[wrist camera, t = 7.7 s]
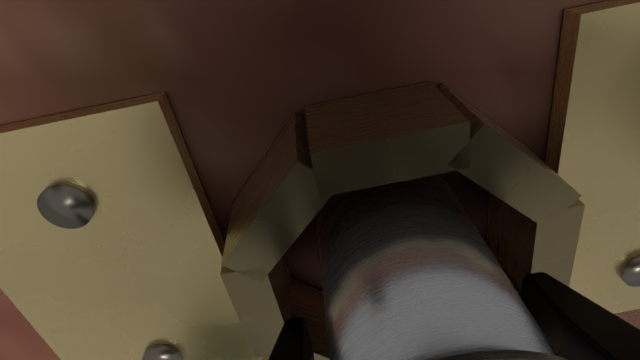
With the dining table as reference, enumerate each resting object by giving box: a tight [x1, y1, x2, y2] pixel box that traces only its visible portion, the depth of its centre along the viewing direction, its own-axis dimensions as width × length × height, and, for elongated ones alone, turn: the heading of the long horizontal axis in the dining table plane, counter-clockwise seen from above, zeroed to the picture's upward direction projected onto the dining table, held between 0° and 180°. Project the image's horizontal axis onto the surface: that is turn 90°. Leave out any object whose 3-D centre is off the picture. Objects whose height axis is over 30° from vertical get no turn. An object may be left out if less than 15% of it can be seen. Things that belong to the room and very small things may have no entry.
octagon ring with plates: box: [0, 0, 640, 360], centre depth 11 cm, size 21×10×2 cm, turn 100°
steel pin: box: [317, 174, 568, 360], centre depth 9 cm, size 5×5×6 cm
